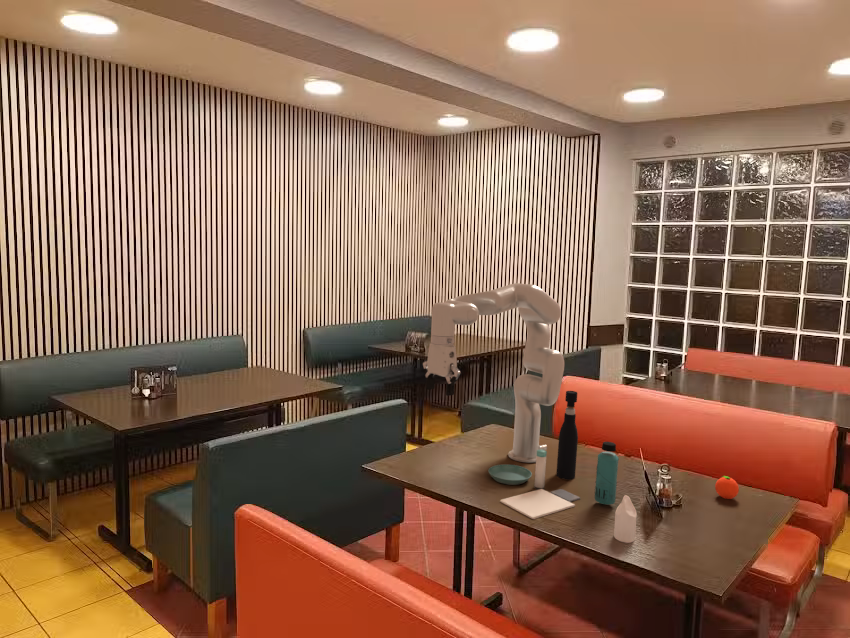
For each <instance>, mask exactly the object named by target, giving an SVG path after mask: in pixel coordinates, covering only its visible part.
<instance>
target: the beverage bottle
mask: <svg viewBox="0 0 850 638" xmlns="http://www.w3.org/2000/svg"><path fill="white" fill-rule="evenodd" d="M616 447H617V444H616V443H615V442H612V441H603V442H602V446H601V450H602V452H600V453H598V455H597V462H596V464H597V466H596V468H595V471H596V474H595V476H596V477H595V482H594V483H595V486H594V494H593V495H594V500H595V502H597V503H599V504H602V505H608V506H609V505H614V504H615V503H616V498H617V489H618V488H617V484H618V483H617V482H618V481H617V480H618V471H619V470H618V469H619V460H620V459H619V456H618V455H617V454H616V453H615V452H616V450H617V448H616Z"/></svg>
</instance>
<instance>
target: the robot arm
mask: <svg viewBox="0 0 850 638" xmlns="http://www.w3.org/2000/svg"><path fill="white" fill-rule="evenodd" d="M517 308H518V310H517V311H518V314H519V316H520V317H521V318H522V320H523V322H524V323H525V326H526V329H527V334H526V343H525V347H524V354H523V358H522V359H523V360H522V364H523V367H524V368H525V369H526V370H528V371H529V372H530V371H531V372H535V373H538V374H540V375H541V374H542V377H541V376H538V375H534V374H530V373H529V374H528V373H527V374H526V373H524V374H521V375H518V377H516V379H515V381H514V383H513V391H514V392H513V393H514V400H515V401H514V402H515V403H514V404H515V408H514V409H515V410H514V429H513V444H512V449H511V450H510V451H509V452H508V453H507V455H508V458H510V459H511V460H513V461H516V462H520V463H530V464H531V463H536V455H537V450H545V451H547V450H548V446H547V444H542V445H540V430H541V420H542V419H541V418H542V412H541V405H542V406H546V407H549V406H553V405H554V404H555V403H556V402H557V401H558V399H559V396H560V392H561V386H562V381H563V376H564V372H565V358H564V356H563V354H562V353H561V352H560V351H558V350H556V349H551V348H550V344H551V336H552V335H551V330H550V326H549V325H554V324H556V323H557V322H558V321H559V320H560V319H561V316H562V310H561V306H560V304H559V303H558V302H557V301H556V300H555V299H554V298H553V297H552V296H550V295H549V294H548V293H547V292H545V291H544V289H542V288H541V287H539V286H537V285H536V284H529V283H516V282H515V283H510V284H508V285H504V286H500V287H498V288H494V289H492V290H487V291H480V292H476V293H469V294H463V295H459V296H456V297H453V298H450V299H447V300H446V301H444V302H435V303H433V304H432V309H431V311H432V312H431V331H430V333H431V334H430V343H429V347H428V353H427V360H425V361H423V362H422V366H423V372H424V373H425V375H424V376H425V378H426V382H425V383H426V385H425V386H426V388H425V389H426V390H434V389H435V385H436V384H435V383H436V377H435V376H436V375H437V376H439V377H443V378H445V379H446V382H447V383H446V384H445V396H447V397H448V396H454V395H455V386H456V383H457V381H458V380H459V379H460V378H459V377H460V375H461V374H462V373H461V370H460V369H459V368H458V364H457V363H458V361H457V360H458V359H457V358H458V357H457V349H456V346H455V330H456V329H455V326H456V325H459V326H460V325H461V326H471V325H473V324H474V323H476V322H477V321H478V319H479V316H496V315H498V314H501V313H504V312H507V311H510V310H514V309H517Z"/></svg>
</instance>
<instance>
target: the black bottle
mask: <svg viewBox="0 0 850 638" xmlns="http://www.w3.org/2000/svg"><path fill="white" fill-rule="evenodd" d="M565 402H566V408H565V412H564V417H563V423H562V425H561V428H560V431H559V433H558V448H557V460H556V477H558V478H559V479H561V480H562V479H563V480H568V481H569V480H574V479H575V478H576V468H577V454H578V444H579V442H578V441H579V440H578V439H579V434H578V428H577V424H576V416H577V415H576V409H575V404H576V403H577V402H578V391H575V390H566V391H565Z"/></svg>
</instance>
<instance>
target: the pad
mask: <svg viewBox="0 0 850 638" xmlns="http://www.w3.org/2000/svg"><path fill="white" fill-rule="evenodd" d="M499 503H501V504H504V505H505V506H507V507H509V508H511V509H513V510H514V511H517V512H518V513H520V514H522V515H524V516H526V517H527V518H529V519H532V520H536V519H539V518H541V517H545V516H548V515H551V514H555V513H557V512H561V511H564V510H567V509H571V508H574V507H576V504H575V503H572V502H568V501H566V500H564V499H562V498H560V497H558V496H556V495H554V494H552V493H551V492H550V491H548V490H545V489H539V490H538V489H535V490H532V491H529V492H525V493H521V494H517V495H513V496H510V497H506V498H502V499H500V501H499Z"/></svg>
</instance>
